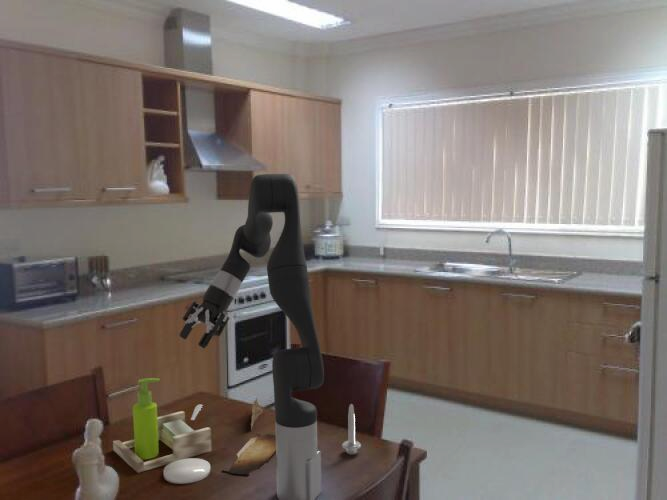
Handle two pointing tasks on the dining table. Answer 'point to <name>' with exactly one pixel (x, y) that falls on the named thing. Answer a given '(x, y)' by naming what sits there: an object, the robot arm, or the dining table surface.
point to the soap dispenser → (145, 422)
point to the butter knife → (196, 411)
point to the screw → (351, 434)
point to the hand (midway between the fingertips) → (191, 342)
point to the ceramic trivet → (186, 470)
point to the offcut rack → (169, 443)
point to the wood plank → (255, 412)
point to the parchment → (254, 454)
